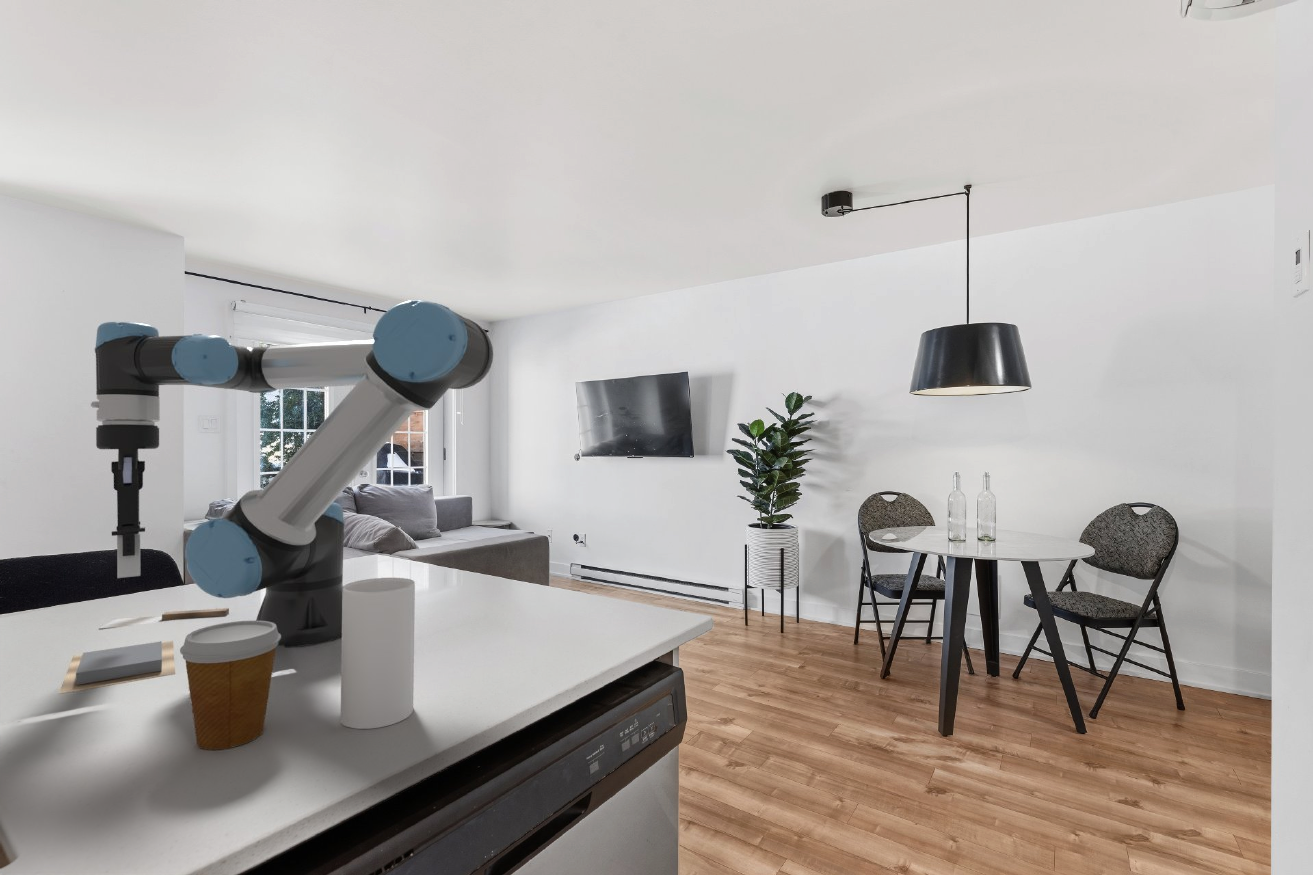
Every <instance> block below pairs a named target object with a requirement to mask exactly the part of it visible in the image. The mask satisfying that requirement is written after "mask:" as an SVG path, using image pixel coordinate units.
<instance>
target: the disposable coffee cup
mask: <svg viewBox="0 0 1313 875" xmlns="http://www.w3.org/2000/svg"><path fill="white" fill-rule="evenodd" d="M280 639H281V634H279V633H278V630H277V626H276V624H274V623H272V622H268V621H256V620H255V619H253V620H240V621H239V620H238V621H231V622H223V623H218V624H214V625H208V626H204V627H202V628H198V629H196V630H193V631H192V632H190V633H188V634H187V635H186V636H185V640H184V643H183V645H181V647H180V648H179V651H180V652H179V653H180V654H181V655H182V658H183V660H185V661H184V662H185V668H186V674H187V681H188V689H189V690H188V691H189V695H190V697H189V698H190V702H191V703H190V704H191V710H192V711H191V712H192V719H193V725H194V731H195V732H194V734H195V739H196V740H195V741H196V745H197V747H198V748H200V749H201V750H210V751H211V750H212V751H213V750H214V751H216V750H225V749H226V750H227V749H230V748H235V747H238V746H242V745H244V744H247V743H249V742H252V741H254V740H255V739H257V738H259V737H260V736H261V735H262V734H263V733H264V729H265V728H264V727H265V720H266V714H267V708H268V703H269V697H270V688H271V681H272V676H273V669H274V662H275V656H276V649H277V647H278V646H279V645H278V642H279V640H280Z"/></svg>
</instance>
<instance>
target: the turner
mask: <svg viewBox="0 0 1313 875" xmlns="http://www.w3.org/2000/svg"><path fill="white" fill-rule="evenodd" d="M229 612H230V609H229V607H225V608H211V609H209V608H207V609H193V610H180V611H177V610H176V611H166V612H163V613H162V614H161V615H159V616H143V617H141V616H139V617H129V618H125V617H124V618H116V619H113V620H111V621H109V622H107V623H106V624H104V625H102V626H101V627H99V628H98V630H99V631H101V630H108V629H109V630H110V629H116V628H123V627H124V628H125V627H132V626H138V625H145V624H153V623H162V622H168V621H177V620H185V619H193V618H194V619H197V618H211V617H222V616H223V617H226V616H227V615H228V614H230V613H229Z"/></svg>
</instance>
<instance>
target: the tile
mask: <svg viewBox="0 0 1313 875" xmlns="http://www.w3.org/2000/svg"><path fill="white" fill-rule="evenodd" d="M162 643H163V641H157V642H156V641H155V642H147V643H141V644H134V645H128V646H127V645H126V646H121V647H113V648H107V649H100V650H94V651H86V652H82V654H83V655H82V654H81V655H82V658H81V661H80V663H79V666H78V669H77V672H76V685H80V684H86V683H92V682H98V681H103V680H109V679H115V678H121V677H127V676H133V675H139V674H145V673H151V672H157V671H162Z"/></svg>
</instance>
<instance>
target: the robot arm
mask: <svg viewBox="0 0 1313 875" xmlns="http://www.w3.org/2000/svg"><path fill="white" fill-rule="evenodd" d="M159 334H160V333H159V330H158V328H156V326H152V325H150V324H146V323H139V322H131V321H127V322H125V321H124V322H123V321H106V322H103V323H101V324H100V325H99V326H98V327H97V330H96V339H95V340H96V341H95V347H94V353H95V373H96V374H95V375H96V377H95V378H96V379H95V380H96V382H95V385H96V387H95V388H96V391H95V392H96V399H97V400H98V401H97V400H96V401H91V403H90V407H91V408H93V409H96V408H97V410H96V420H97V421H98V422H101V423H102V424H101V425H97V427H95V431H96V432H95V434H96V435H95V436H96V437H95V438H96V440H95V442H96V443H95V445H96V448H97V449H98V450H118V451H117V452H118V453H117V455H118V456H117V457H118V458H117V461H111V464H110V466H111V467H110V468H111V474H113V489H114V491H116V496H117V497H116V502H117V503H116V506H117V507H116V508H117V509H116V510H117V511H116V512H117V513H116V514H117V516H116V517H117V526H115V527H116V530H114V531H111V536H112V537H113V536H114V537H115V536H116V542H117V543H116V548H117V549H116V550H117V551H116V552H117V554H116V555H117V556H116V558H117V560H116V563H117V564H116V565H117V568H116V569H117V572H116V575H117V579H121V578H131V577H140V576H141V533H144V532H146V527H141V521H140V490H142V488H143V487H144V486H143V485H144V472H145V470H146V461H145V460H139V450H156V449H158V448H159V447H160V427H159V426H158V425H156V423H158V422H159V421H160V420H161V419H160V415H161V414H160V386H175V385H176V386H196V387H197V386H198V387H206V388H215V389H224V390H237V391H244V392H248V393H253V394H255V393H256V394H257V393H258V394H264V393H272V392H275V391H277V390H288V389H289V390H290V389H305V388H307V389H310V388H311V389H312V388H327V387H328V388H329V387H331V388H332V387H344V386H345V387H348V386H354V387H353V388H352V389H351V390H350V391H349V392H348V394H347V395H346V396H345V397H344V398H343V399H342V400H341V402H340V403H339V404H338V405H337V406H336V407H335V408H334V409H333V410H332V412H330V413H329V415H328V416H327V417H326V418H325V419H324V421H323V422H322V423H321V424H320V426H318V427H317V429H316V430H315V431H314V432H313V433H312V434H311V435H310V437H308V439H307V440H306V441H305V442H304V443H303V444H302V445H301V447H299V448H298V450H297V451H296V452H295V453H294V454H293V456H291V458H290V459H289V460H288V461H287V462H286V463H285V465H284V466H283V467H281V469H280V470H279V471H278V473H277V474H276V475H275V476H274V477H273V478H272V479H271V480H270V481H269V483H267V484H266V486H265V487H264V488H263V489H253V490H251V491H250V490H249V491H247V492H245V494H244V495H242V496H241V498H240V499H239V500H238V501H237V502H236V503H235V504H234V505H233V507H232V508H231V509H230V510H229V511H228V512H227V513H226V514H225V515H224V516H223V517H217V518H210V519H209V520H207V521H205V522H202V523H201V524H199V525H198V526H196V527H195V528H194V529H193V530H192V532H191V533H190V535H189V536H188V539H187V541H186V544H185V549H184V550H185V552H184V557H185V559H186V570H187V572H188V573H189V574H188V575H189V576H190V578H191V580H192V581H193V582H194V583H195V585H196V586H197V587H198V588H199V589H200V590H202V591H203V592H204V593H206V594H208V595H210V596H212V597H215V598H219V599H232V598H237V597H245V596H247V595H251V594H253V593H255V592H259V591H261V590H263V589H265V595H264V597H263V600H262V603H261V606H260V608H259V610H258V613H257V616H256V620H255V621H268V622H272V623H274V624H276V626H277V630H278V633H279V634H281V639H280V640H279V642H278V645H277V646H284V648H294V647H305V646H310V645H318V644H322V643H326V642H330V641H334V640H336V639H337V640H338V639H339V638H342V590H343V586H344V585H343V584H344V583H343V581H344V580H343V578H344V576H343V573H344V572H343V571H344V569H343V568H344V531H345V530H344V529H345V524H346V523H345V521H344V509H343V507H342V506H341V504H339V503H338V502H334V501H336V499H338V497H339V496H340V495H341V494H342V493H343V491H344V490H345V489H346V488H347V487H348V486H349V485H350V484H351V483H352V482H353V481H354V479H355V478H356V477H357V476H358V475H359V474H360V473H361V472H362V470H363V469H364V468H365V467H366V466H367V465H368V464H369V463H370V462H371V460H372V459H373V458H374V457H375V456H376V455H377V453H379V451H381V449H382V448H383V447H384V446H385V445H386V444H387V442H389V440H390V439H391V438H392V437H393V435H395V433H396V432H398V430H399V429H400V428H401V427H402V425H404V423H405V422H406V421H407V420H408V419H409V418H410V417H411V416H412V415H413V413H414V412H418V411H429V410H431V409H432V408H433V407H434V406H435V404H437V403H438V401H439V400H440V399H441V398H442V397H443V395H444V394H445V393H447V391H448V390H450V389H451V390H463V389H468V388H471V387H473V386H476V385H477V384H478V383H480V382H482V381H483V379H484V378H486V376H487V374H488V373H489V372H490V369H491V368H492V364H493V361H494V347H493V343H492V341H491V339H490V337H489V335H488V333H487V332H486V331H485V330H484V329H483V328H482V327H481V325H479V324H478V323H477V322H475V321H473V320H471V319H469V318H466V317H464V316H463V315H462V314H461V315H460V314H458V313H457V312H455V311H454V310H451V309H450V307H448V306H446V305H443V304H440V303H436V302H432V301H428V300H422V299H421V300H418V299H417V300H416V299H415V300H414V299H413V300H407V301H404V302H401V303H398V304H396V305H395V306H393V307H391V308H390V309H388V310H387V311H386V312H384V313H383V314H382V316H381V317H380V318H379V320H378V321H377V323H376V325H375V327H374V330H373V333H372V337H373V339H367V340H366V339H365V340H364V339H363V340H352V341H351V340H349V341H332V342H319V343H303V344H286V345H285V344H284V345H271V346H266V345H265V346H253V347H251V346H244V345H243V346H242V345H236V344H234V343H233V344H232V343H230V342H228V340H227V339H226V338H225V337H223V336H219V335H210V334H208V335H206V334H201V333H194V334H192V335H191V334H190V335H169V336H168V335H167V336H166V335H163V336H160V335H159Z"/></svg>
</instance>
